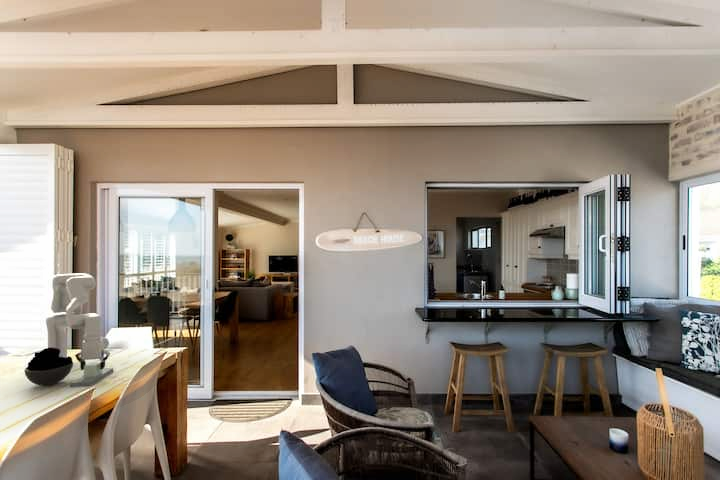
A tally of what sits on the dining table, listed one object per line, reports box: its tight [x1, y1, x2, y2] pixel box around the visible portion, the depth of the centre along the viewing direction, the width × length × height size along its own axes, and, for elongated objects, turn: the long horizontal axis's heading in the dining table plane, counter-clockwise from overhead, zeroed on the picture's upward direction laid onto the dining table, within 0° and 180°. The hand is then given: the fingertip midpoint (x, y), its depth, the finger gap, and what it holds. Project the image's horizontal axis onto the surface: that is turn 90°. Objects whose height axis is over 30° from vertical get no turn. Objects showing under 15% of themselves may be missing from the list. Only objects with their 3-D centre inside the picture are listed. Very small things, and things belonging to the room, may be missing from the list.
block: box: [83, 361, 102, 377], centre depth 212 cm, size 6×6×6 cm
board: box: [69, 367, 114, 388], centre depth 212 cm, size 10×24×2 cm, turn 8°
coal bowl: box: [24, 347, 74, 387], centre depth 204 cm, size 20×20×19 cm
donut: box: [101, 336, 110, 351], centre depth 271 cm, size 10×4×10 cm, turn 117°
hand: (92, 369), depth 212 cm, fingers open, 9 cm apart
